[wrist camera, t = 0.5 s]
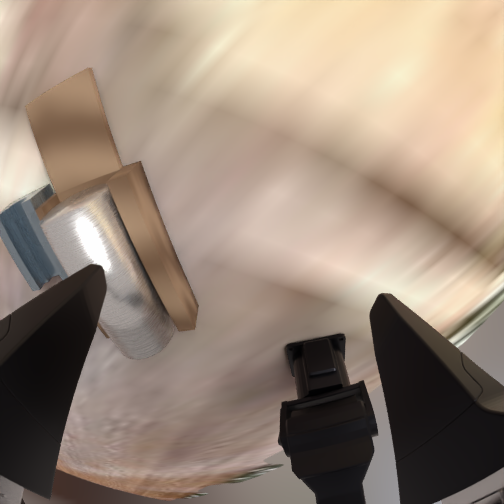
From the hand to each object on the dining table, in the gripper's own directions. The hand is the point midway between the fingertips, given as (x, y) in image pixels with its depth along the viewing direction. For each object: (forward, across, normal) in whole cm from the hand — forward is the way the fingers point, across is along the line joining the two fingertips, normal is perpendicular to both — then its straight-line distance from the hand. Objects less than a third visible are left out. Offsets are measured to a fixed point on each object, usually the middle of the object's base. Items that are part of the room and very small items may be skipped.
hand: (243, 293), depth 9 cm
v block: (+13, +17, +7) cm, 23 cm away
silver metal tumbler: (+12, +9, +8) cm, 18 cm away
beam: (+13, +11, +5) cm, 17 cm away
